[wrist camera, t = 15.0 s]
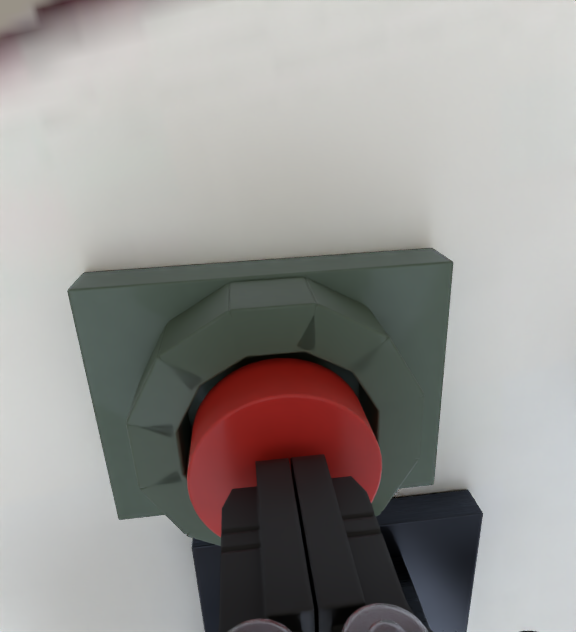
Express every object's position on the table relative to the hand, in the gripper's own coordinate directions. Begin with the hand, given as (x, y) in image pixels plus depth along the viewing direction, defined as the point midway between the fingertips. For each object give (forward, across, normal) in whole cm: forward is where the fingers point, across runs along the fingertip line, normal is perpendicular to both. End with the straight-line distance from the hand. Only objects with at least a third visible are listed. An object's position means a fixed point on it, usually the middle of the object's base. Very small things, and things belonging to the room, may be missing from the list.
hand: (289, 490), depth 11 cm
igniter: (+5, 0, 0) cm, 5 cm away
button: (+2, 0, 0) cm, 2 cm away
